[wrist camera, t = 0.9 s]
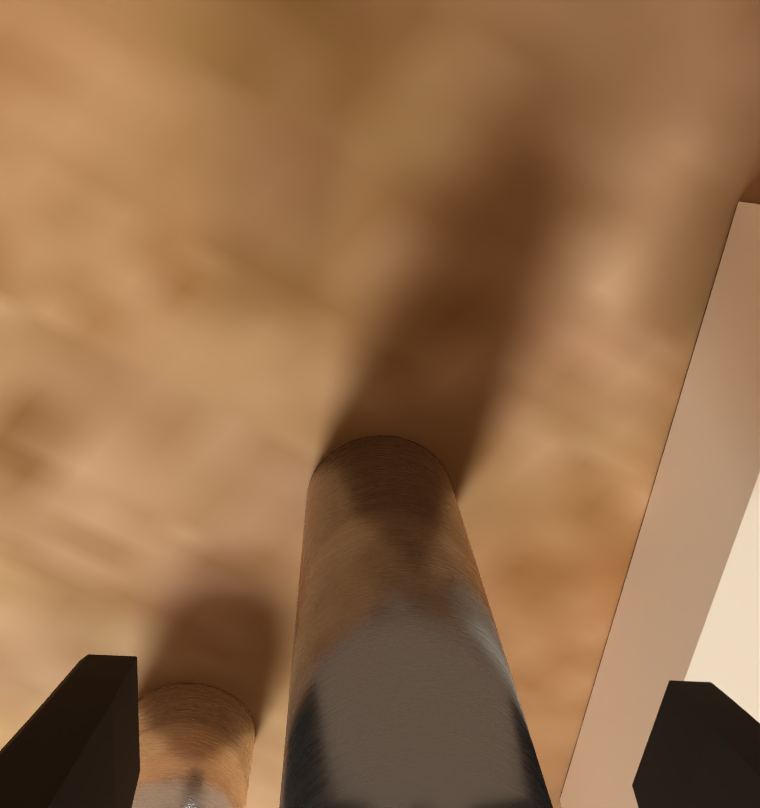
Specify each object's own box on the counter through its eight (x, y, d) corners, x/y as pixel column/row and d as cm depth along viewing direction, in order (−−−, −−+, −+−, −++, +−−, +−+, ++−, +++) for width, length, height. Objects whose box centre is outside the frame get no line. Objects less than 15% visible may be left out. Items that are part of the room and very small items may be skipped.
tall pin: (441, 567, 16) (534, 970, 8) (301, 559, 15) (265, 968, 8) (463, 441, 14) (595, 778, 7) (312, 430, 14) (282, 769, 7)
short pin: (252, 779, 18) (230, 951, 14) (127, 775, 17) (70, 950, 14) (258, 686, 17) (234, 847, 13) (123, 680, 16) (61, 843, 13)
